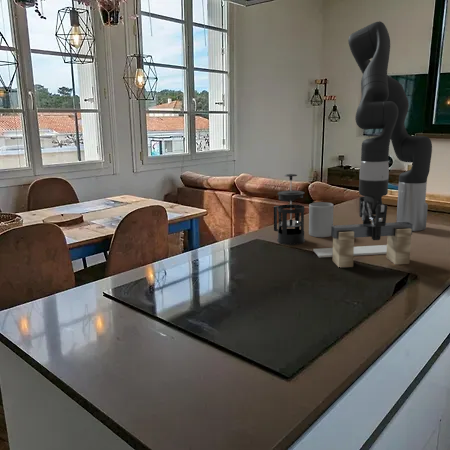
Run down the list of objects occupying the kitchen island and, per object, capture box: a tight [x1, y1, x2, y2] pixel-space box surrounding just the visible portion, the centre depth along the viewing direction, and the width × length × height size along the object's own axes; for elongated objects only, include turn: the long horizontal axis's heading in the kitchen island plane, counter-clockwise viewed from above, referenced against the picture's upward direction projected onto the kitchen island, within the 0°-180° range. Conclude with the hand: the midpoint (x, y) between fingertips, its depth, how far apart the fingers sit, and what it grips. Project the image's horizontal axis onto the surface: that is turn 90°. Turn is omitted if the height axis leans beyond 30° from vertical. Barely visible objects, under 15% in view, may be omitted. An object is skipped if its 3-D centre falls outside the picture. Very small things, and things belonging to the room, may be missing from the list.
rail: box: [330, 222, 413, 239], centre depth 119 cm, size 22×3×3 cm, turn 93°
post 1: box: [332, 231, 355, 268], centre depth 120 cm, size 4×6×10 cm, turn 3°
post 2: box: [385, 228, 412, 265], centre depth 120 cm, size 4×6×10 cm, turn 3°
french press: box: [273, 173, 306, 246], centre depth 143 cm, size 12×9×23 cm
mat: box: [312, 244, 387, 258], centre depth 131 cm, size 26×7×1 cm, turn 93°
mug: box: [308, 201, 334, 238], centre depth 153 cm, size 12×8×11 cm
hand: (371, 236), depth 119 cm, fingers open, 6 cm apart
